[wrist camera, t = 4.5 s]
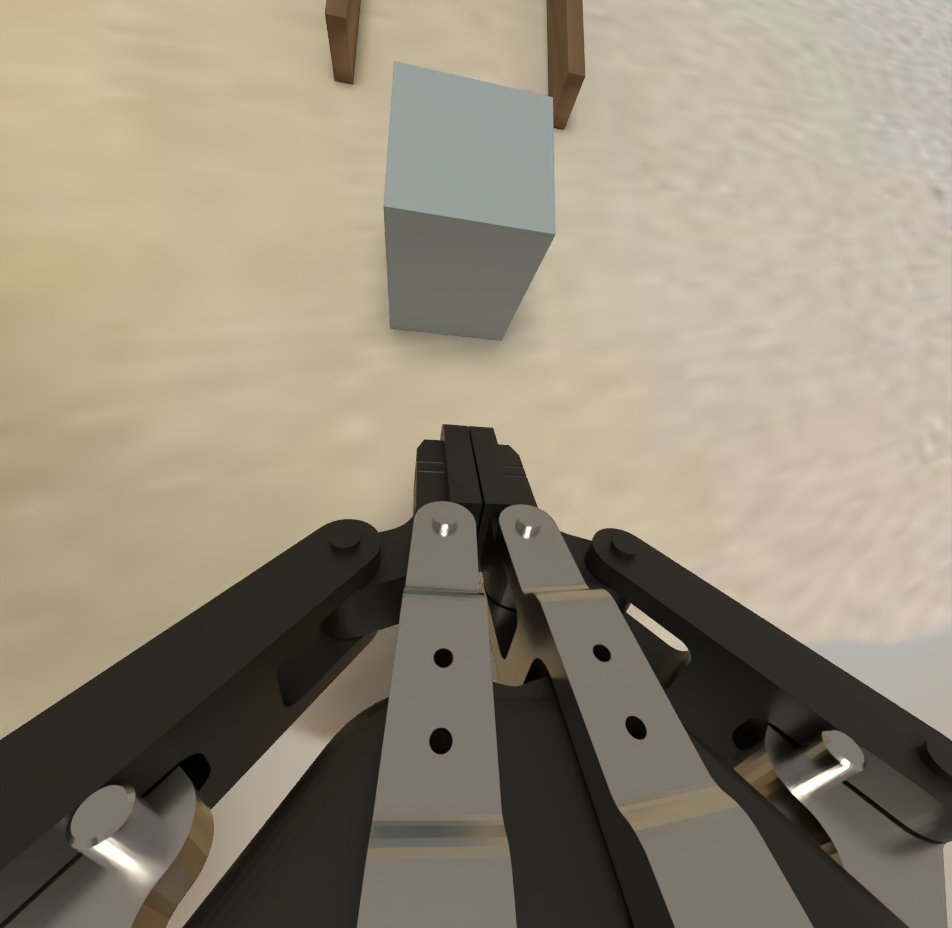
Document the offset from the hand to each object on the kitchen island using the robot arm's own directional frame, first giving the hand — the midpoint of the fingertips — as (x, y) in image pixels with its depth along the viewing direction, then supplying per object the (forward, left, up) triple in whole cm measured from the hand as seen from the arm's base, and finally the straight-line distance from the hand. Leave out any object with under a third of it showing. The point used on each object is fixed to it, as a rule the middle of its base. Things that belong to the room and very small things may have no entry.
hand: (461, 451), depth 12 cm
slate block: (0, +11, -8) cm, 14 cm away
